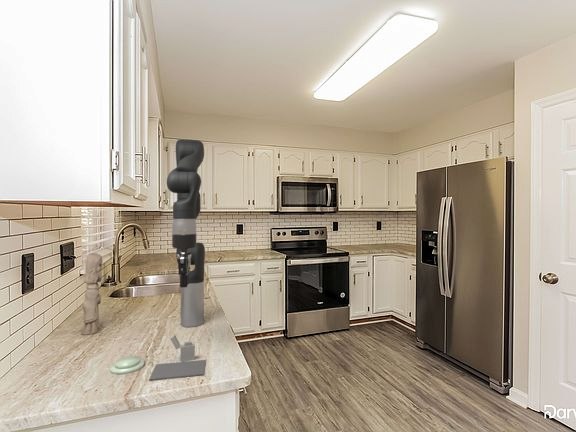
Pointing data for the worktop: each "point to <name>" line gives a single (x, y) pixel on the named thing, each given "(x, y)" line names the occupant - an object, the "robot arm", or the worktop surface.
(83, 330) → the sculpture
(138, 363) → the dish
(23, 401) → the worktop surface
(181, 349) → the lighter
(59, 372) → the worktop surface
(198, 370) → the mat
